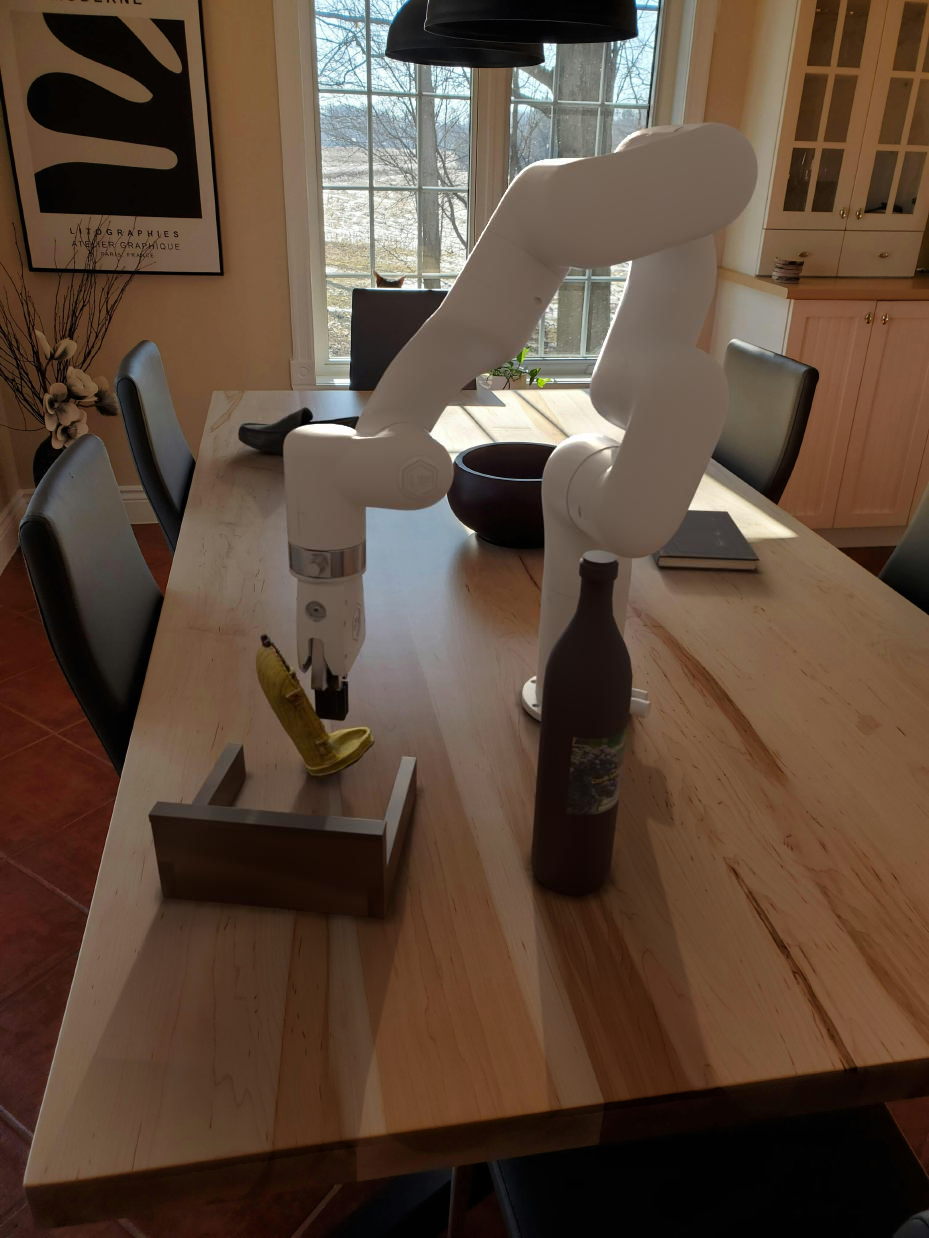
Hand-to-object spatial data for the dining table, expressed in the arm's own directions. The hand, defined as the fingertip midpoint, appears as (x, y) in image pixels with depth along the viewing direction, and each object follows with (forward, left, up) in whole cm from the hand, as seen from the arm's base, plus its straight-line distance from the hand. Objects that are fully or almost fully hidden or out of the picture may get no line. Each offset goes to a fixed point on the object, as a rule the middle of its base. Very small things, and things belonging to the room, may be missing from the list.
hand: (332, 715), depth 95 cm
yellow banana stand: (-2, +4, -4) cm, 6 cm away
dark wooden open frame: (-7, +13, -4) cm, 15 cm away
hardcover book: (-12, -81, -4) cm, 82 cm away
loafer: (+79, -85, -4) cm, 116 cm away
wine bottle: (-30, +4, -4) cm, 30 cm away
